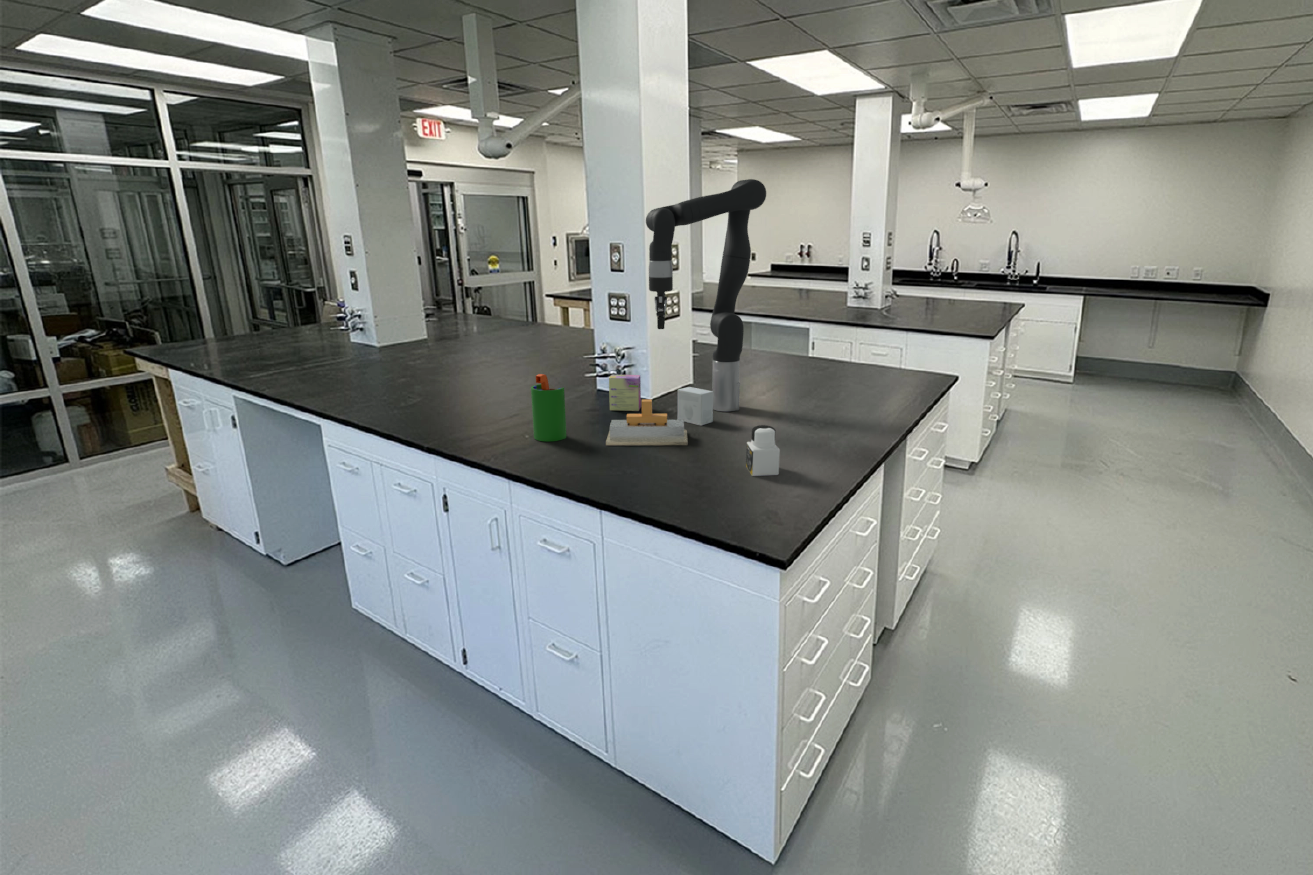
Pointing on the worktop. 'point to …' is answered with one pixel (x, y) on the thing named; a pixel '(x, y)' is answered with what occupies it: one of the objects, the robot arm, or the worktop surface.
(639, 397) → the box
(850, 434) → the worktop surface
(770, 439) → the medicine bottle
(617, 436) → the slotted grey base block
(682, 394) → the skincare box
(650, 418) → the clip
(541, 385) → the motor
